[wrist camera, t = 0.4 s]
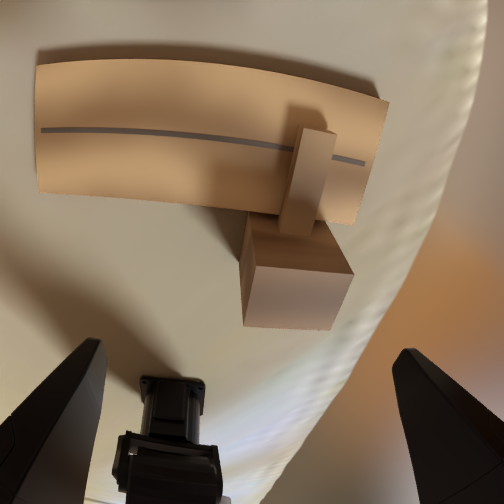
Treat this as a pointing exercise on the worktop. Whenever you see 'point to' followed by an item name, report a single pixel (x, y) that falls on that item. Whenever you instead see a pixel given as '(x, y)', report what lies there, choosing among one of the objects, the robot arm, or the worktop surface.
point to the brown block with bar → (295, 249)
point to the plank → (196, 134)
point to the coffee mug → (225, 500)
